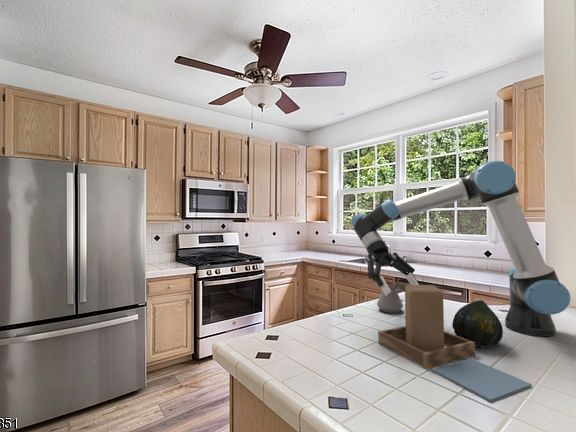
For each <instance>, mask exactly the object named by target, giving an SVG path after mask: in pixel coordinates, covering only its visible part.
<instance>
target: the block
mask: <svg viewBox="0 0 576 432" xmlns="http://www.w3.org/2000/svg"><path fill="white" fill-rule="evenodd" d="M404 304H405V305H404V309H405V311H404V312H405V313H404V315H405V326H406V339H405V341H406V343H408V344H410V345H412V346H414V347H416V348H418V349H420V350H422V351H425V352H429V351H433V350H437V349H441V348H445V344H444V331H445V321H444V320H445V319H444V316H445V315H444V293H443V291H442V290H441V289H439V288H438V287H437V286H435V285H434V284H433V285H432V284H430V285H428V284H427V285H425V284H419V285H411V284H407V285H405V289H404Z"/></svg>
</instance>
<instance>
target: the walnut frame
mask: <svg viewBox="0 0 576 432" xmlns="http://www.w3.org/2000/svg"><path fill="white" fill-rule="evenodd" d="M377 334H378V335H377V336H378V338H377V339H378V344H379V345H382V346H384V347H385V348H388V349H389V350H391V351H392V352H394V353H397V354H398V355H400V356H402V357H404V358H406V359H407V360H409V361H411V362H413V363H415V364H417V365H419V366H420V367H422V368H424V369H426V370H428V369H432V368H436V367H438V366H443V365H445V364H449V363H452V362H456V361H457V362H458V361H459V360H460V361H461V360H463V359H464V360H465V359H466V358H467V359H468V358H472V357H473V356H475V355H476V347H475V342H472V341H470V340H467V339H464V338H462V337H459V336H456V334H455V333H454V334H453V333H450V332H448V331H446V330H444V348H441V349H437V350H433V351H429V352H425V351H422V350H420V349H418V348H416V347H414V346H412V345H410V344H408V343H407V342H405V341H404V340H406V325H403V326H399V327H393V328H389V329H384V330H382V329H381V330H378V331H377ZM445 346H446V347H445Z"/></svg>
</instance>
